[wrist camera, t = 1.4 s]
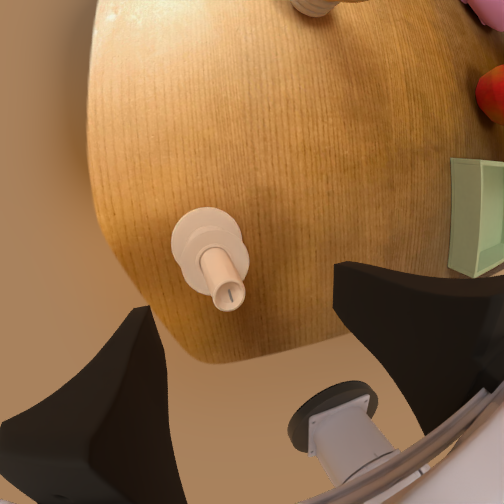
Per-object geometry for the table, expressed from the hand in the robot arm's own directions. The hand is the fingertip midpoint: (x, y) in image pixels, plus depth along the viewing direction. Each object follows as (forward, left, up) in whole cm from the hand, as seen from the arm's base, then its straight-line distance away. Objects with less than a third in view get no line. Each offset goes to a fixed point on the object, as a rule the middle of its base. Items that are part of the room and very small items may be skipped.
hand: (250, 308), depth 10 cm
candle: (0, +1, -12) cm, 12 cm away
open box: (-2, -35, -11) cm, 37 cm away
